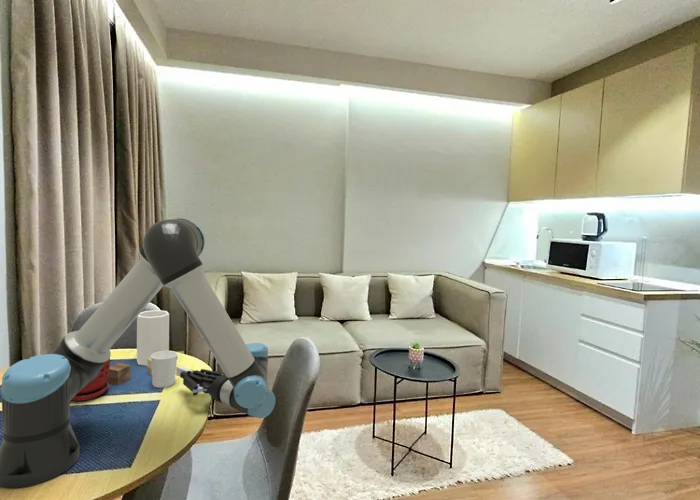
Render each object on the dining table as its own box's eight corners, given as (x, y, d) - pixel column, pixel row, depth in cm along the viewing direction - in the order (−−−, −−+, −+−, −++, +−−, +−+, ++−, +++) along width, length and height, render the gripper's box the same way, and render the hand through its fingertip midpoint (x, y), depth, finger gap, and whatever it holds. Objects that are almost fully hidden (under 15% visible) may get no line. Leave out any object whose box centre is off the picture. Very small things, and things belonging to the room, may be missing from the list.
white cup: (145, 385, 129) (145, 356, 128) (164, 377, 136) (164, 349, 135) (163, 390, 126) (163, 360, 125) (181, 381, 133) (182, 353, 132)
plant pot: (87, 382, 129) (87, 347, 128) (119, 389, 125) (120, 352, 124) (47, 400, 116) (47, 361, 115) (82, 407, 113) (82, 367, 112)
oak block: (153, 376, 136) (153, 362, 136) (147, 372, 140) (147, 358, 139) (167, 372, 140) (167, 359, 139) (161, 368, 143) (161, 355, 143)
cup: (147, 368, 142) (147, 319, 140) (130, 361, 148) (130, 313, 146) (175, 360, 152) (175, 313, 150) (157, 353, 157) (158, 308, 156)
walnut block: (117, 385, 128) (117, 370, 128) (105, 382, 129) (105, 368, 129) (130, 379, 133) (130, 365, 132) (118, 377, 134) (118, 363, 134)
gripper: (210, 411, 109) (159, 388, 121) (245, 394, 120) (195, 375, 132) (210, 385, 108) (159, 365, 120) (245, 371, 119) (195, 353, 132)
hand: (178, 370), depth 126 cm, fingers closed
